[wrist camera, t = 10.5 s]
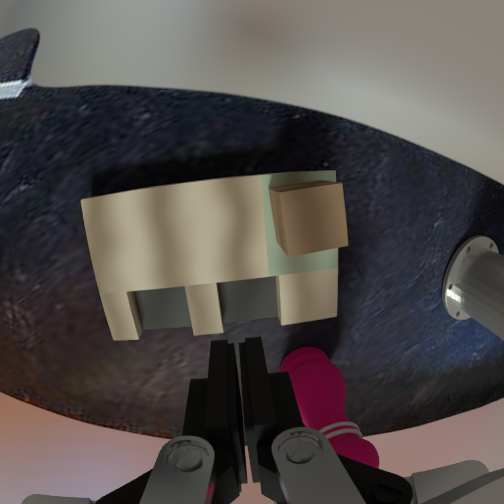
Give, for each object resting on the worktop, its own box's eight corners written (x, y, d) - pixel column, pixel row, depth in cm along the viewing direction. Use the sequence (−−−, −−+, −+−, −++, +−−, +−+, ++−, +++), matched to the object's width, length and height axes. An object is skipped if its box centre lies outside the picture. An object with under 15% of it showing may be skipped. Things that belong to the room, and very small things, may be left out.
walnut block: (321, 179, 27) (342, 183, 22) (327, 232, 28) (348, 245, 23) (268, 188, 27) (278, 192, 22) (276, 241, 28) (288, 257, 23)
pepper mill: (319, 332, 34) (396, 466, 15) (338, 370, 36) (405, 491, 17) (265, 360, 34) (302, 508, 15) (289, 395, 37) (330, 525, 17)
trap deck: (326, 170, 29) (335, 170, 27) (329, 306, 33) (336, 316, 31) (90, 197, 27) (80, 200, 25) (119, 329, 32) (113, 340, 29)
